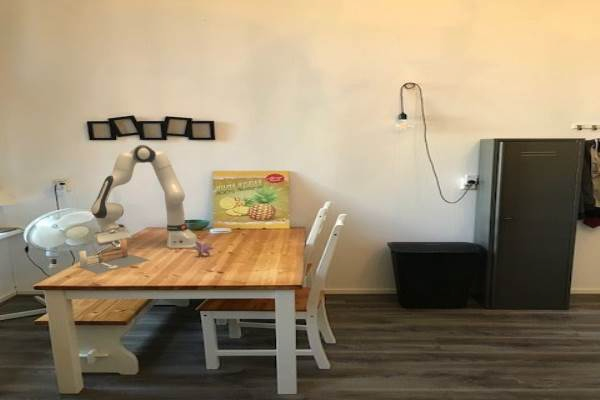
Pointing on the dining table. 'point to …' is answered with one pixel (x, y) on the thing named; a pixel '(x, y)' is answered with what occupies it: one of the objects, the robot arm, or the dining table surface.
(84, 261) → the fixed fence section
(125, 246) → the hinged fence section
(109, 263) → the board
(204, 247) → the lily
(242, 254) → the dining table surface
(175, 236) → the robot arm
